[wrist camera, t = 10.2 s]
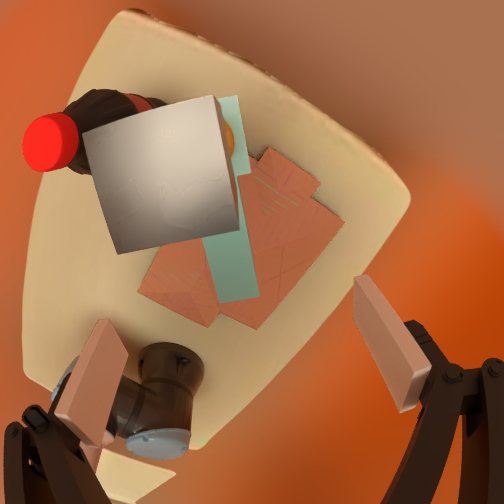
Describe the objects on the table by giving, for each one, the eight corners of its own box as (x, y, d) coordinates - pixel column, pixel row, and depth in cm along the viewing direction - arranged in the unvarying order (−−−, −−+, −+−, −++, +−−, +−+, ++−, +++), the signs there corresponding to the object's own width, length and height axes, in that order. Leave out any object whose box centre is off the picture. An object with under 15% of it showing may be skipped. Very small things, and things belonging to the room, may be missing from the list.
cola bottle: (123, 147, 42) (-3, 200, 15) (133, 96, 39) (5, 84, 12) (173, 154, 44) (86, 216, 17) (184, 102, 40) (103, 80, 13)
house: (348, 203, 49) (366, 219, 42) (243, 333, 60) (244, 361, 53) (236, 124, 43) (237, 125, 35) (141, 282, 53) (129, 307, 46)
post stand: (244, 143, 44) (304, 270, 8) (206, 150, 44) (94, 305, 8) (237, 106, 41) (266, 27, 5) (198, 113, 41) (30, 103, 5)
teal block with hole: (265, 265, 26) (273, 298, 21) (211, 275, 26) (207, 309, 21) (236, 100, 20) (237, 94, 15) (172, 114, 20) (156, 113, 15)
